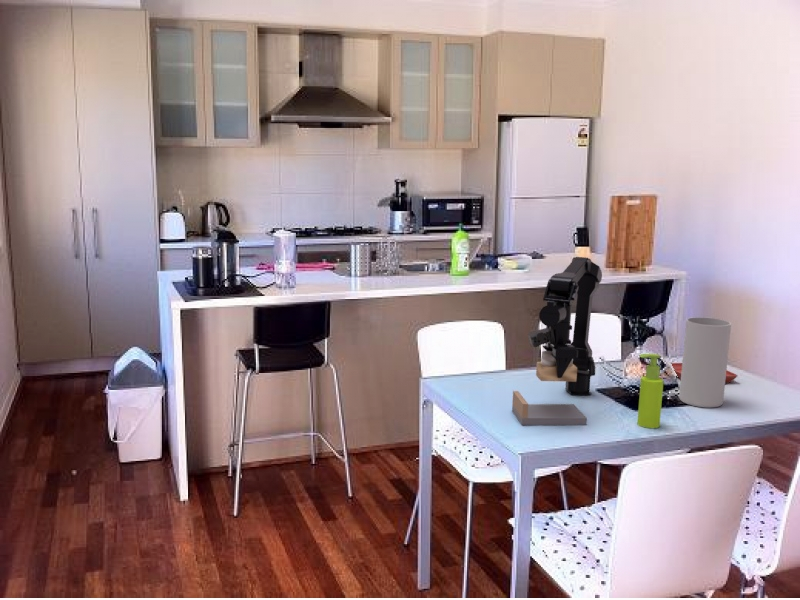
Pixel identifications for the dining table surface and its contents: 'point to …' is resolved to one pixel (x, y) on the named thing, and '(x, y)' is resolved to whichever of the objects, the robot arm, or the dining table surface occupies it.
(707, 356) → the cylinder vase
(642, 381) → the soap dispenser
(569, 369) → the glass caddy
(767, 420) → the dining table surface
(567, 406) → the l-shaped bookend
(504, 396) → the dining table surface
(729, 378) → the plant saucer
